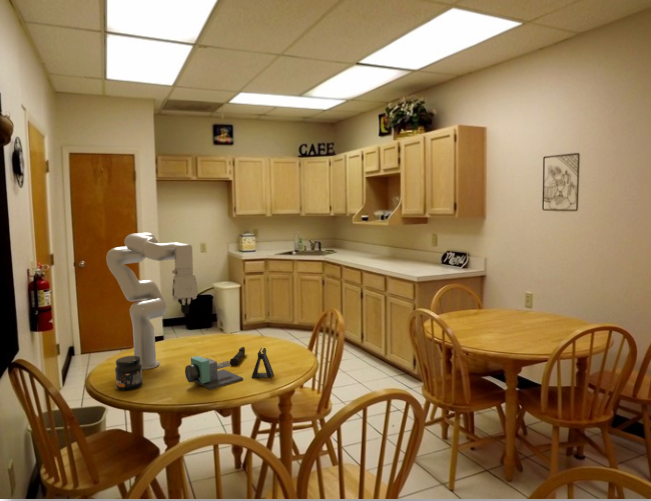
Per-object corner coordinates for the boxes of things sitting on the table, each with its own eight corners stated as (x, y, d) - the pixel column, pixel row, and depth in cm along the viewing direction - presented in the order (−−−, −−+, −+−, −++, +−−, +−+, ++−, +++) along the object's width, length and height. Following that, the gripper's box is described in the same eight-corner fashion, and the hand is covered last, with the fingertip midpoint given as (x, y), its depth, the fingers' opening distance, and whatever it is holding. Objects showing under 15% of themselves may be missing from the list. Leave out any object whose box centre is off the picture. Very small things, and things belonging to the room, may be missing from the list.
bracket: (199, 379, 202) (199, 359, 202) (208, 376, 205) (207, 357, 205) (209, 383, 197) (208, 364, 196) (217, 381, 199) (217, 361, 199)
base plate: (191, 380, 204) (191, 378, 204) (223, 371, 215) (223, 369, 215) (210, 389, 193) (210, 387, 192) (243, 379, 204) (242, 377, 203)
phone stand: (251, 378, 205) (250, 351, 204) (253, 373, 211) (253, 347, 210) (271, 378, 205) (271, 351, 204) (273, 373, 211) (273, 347, 210)
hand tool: (237, 366, 222) (237, 357, 222) (229, 366, 222) (229, 356, 222) (249, 354, 241) (249, 346, 240) (241, 354, 241) (241, 345, 241)
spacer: (191, 378, 200) (190, 357, 200) (199, 376, 203) (198, 355, 202) (202, 383, 194) (201, 362, 193) (210, 381, 196) (209, 360, 195)
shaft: (185, 380, 197) (184, 363, 197) (224, 369, 210) (224, 354, 210) (193, 384, 192) (192, 367, 192) (233, 372, 205) (232, 357, 205)
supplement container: (111, 387, 197) (110, 359, 196) (135, 380, 205) (134, 353, 204) (123, 393, 190) (121, 364, 189) (147, 386, 198) (146, 358, 197)
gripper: (171, 274, 197) (172, 317, 199) (203, 271, 207) (204, 312, 209) (163, 272, 203) (165, 314, 204) (195, 269, 213) (196, 309, 215)
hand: (185, 313), depth 207 cm, fingers closed
